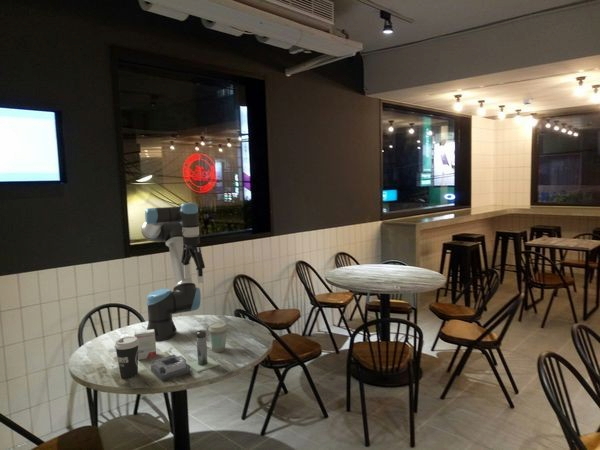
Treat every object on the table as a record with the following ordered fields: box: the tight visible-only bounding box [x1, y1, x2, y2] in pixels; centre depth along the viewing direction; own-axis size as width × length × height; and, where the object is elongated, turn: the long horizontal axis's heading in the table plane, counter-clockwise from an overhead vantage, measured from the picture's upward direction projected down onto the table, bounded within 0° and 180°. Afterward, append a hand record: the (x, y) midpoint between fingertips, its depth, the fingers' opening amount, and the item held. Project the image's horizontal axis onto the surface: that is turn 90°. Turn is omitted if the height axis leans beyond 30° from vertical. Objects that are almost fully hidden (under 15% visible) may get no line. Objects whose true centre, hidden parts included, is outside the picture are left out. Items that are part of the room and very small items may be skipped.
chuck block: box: [150, 354, 192, 382], centre depth 177 cm, size 12×12×4 cm
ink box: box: [133, 329, 157, 361], centre depth 193 cm, size 9×5×12 cm, turn 108°
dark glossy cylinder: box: [195, 329, 208, 366], centre depth 182 cm, size 4×4×14 cm
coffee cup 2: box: [207, 321, 228, 353], centre depth 198 cm, size 8×8×12 cm
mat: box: [186, 356, 220, 373], centre depth 183 cm, size 10×10×1 cm
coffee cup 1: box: [113, 335, 139, 380], centre depth 174 cm, size 10×10×15 cm
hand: (193, 280), depth 201 cm, fingers open, 13 cm apart
